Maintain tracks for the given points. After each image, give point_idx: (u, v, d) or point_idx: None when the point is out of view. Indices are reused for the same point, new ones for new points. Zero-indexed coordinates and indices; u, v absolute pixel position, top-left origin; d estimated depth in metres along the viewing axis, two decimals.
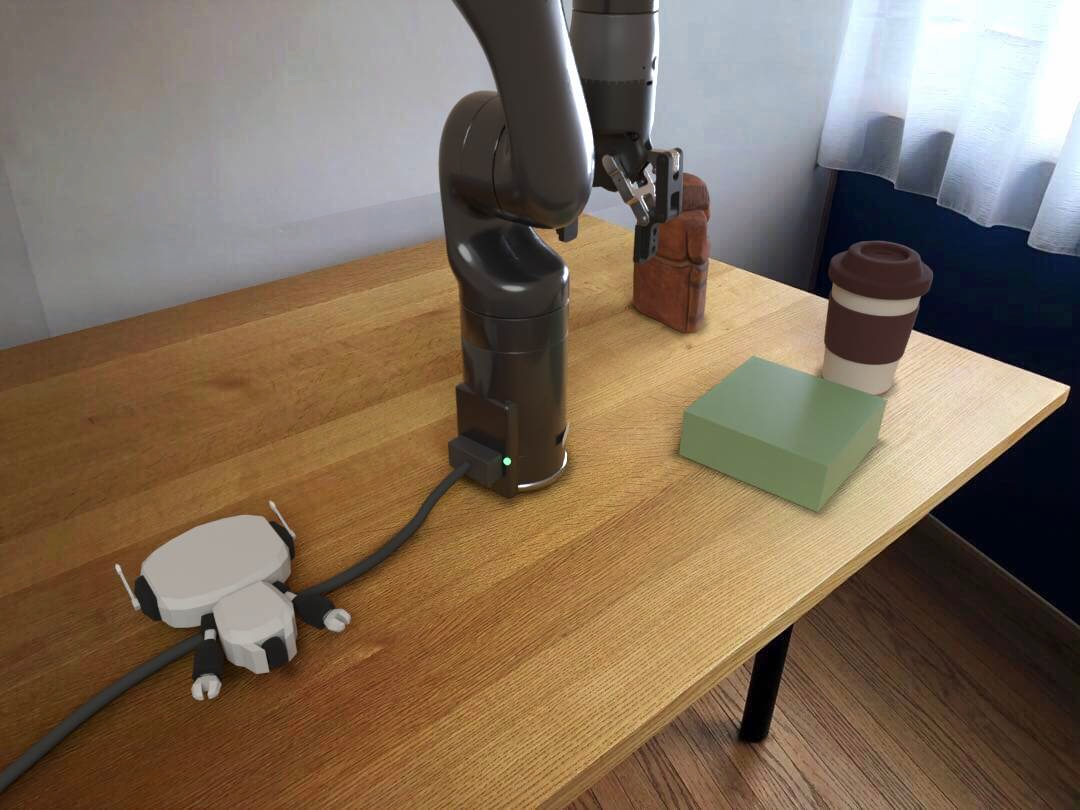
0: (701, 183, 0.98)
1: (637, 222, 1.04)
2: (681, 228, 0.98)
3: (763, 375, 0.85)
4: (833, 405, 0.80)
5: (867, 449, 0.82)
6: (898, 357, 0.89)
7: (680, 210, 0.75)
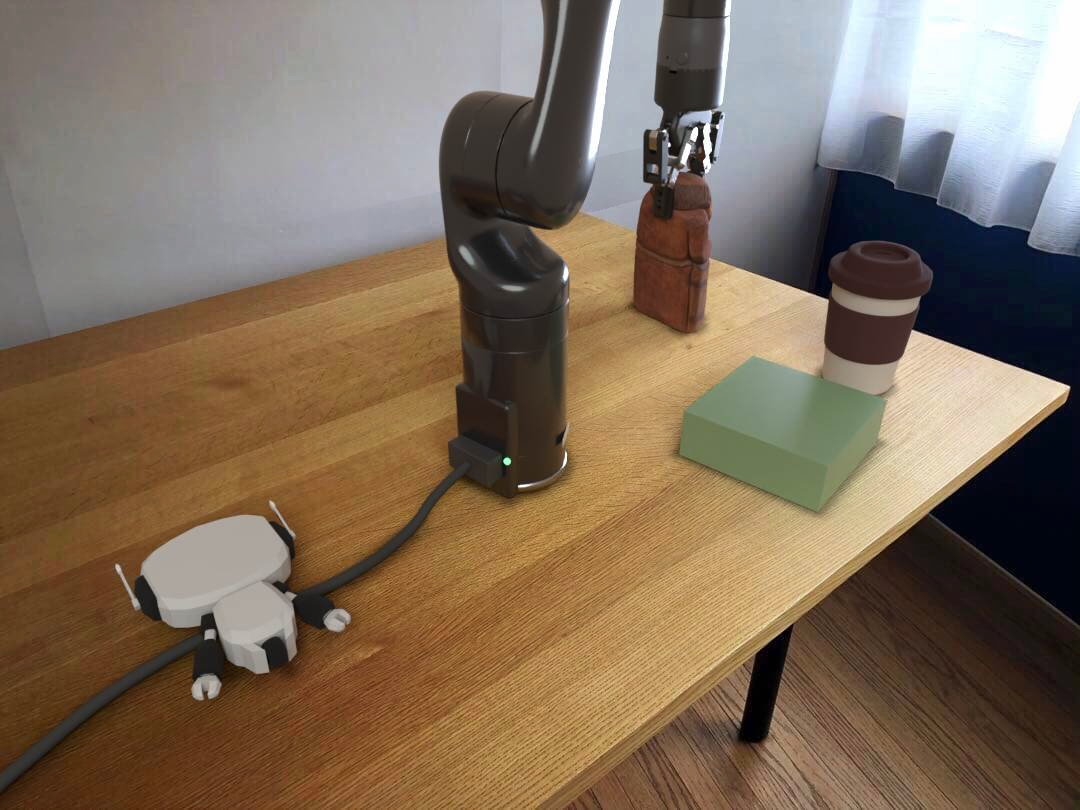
0: (703, 182, 0.98)
1: (638, 221, 1.04)
2: (682, 227, 0.98)
3: (763, 375, 0.85)
4: (833, 405, 0.80)
5: (867, 449, 0.82)
6: (898, 357, 0.89)
7: (660, 182, 0.94)
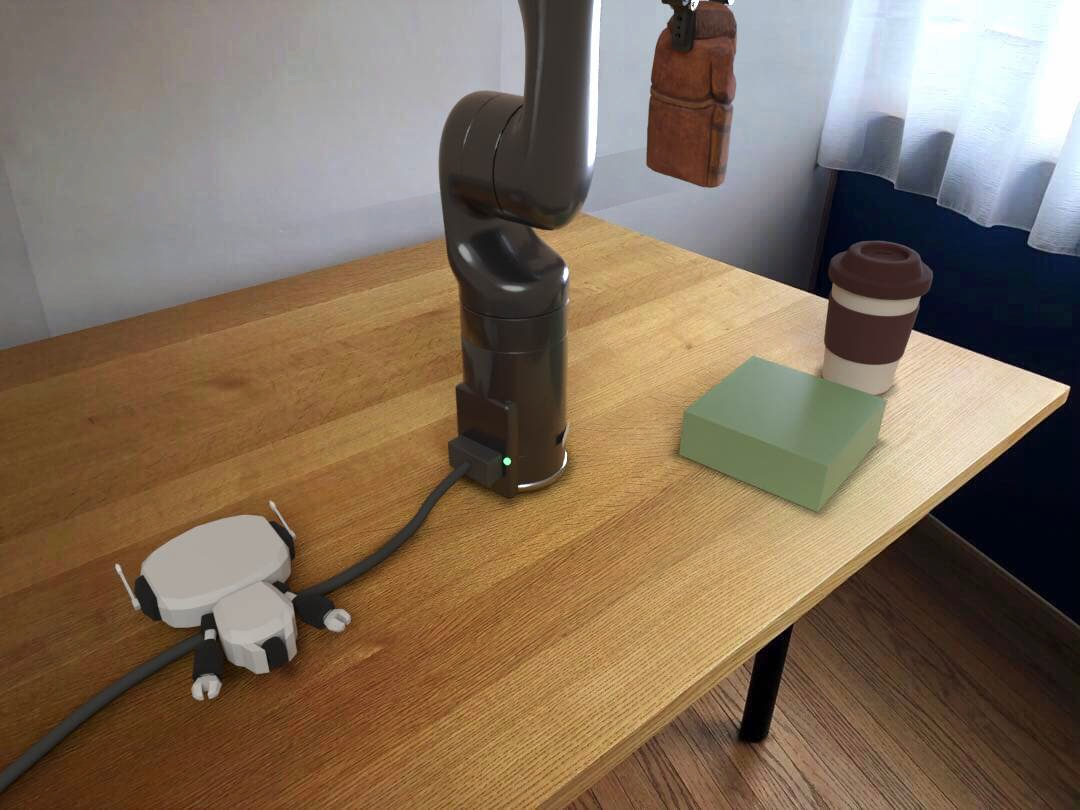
0: (727, 9, 0.87)
1: (653, 63, 0.93)
2: (704, 59, 0.87)
3: (763, 375, 0.85)
4: (833, 405, 0.80)
5: (867, 449, 0.82)
6: (898, 357, 0.89)
7: None
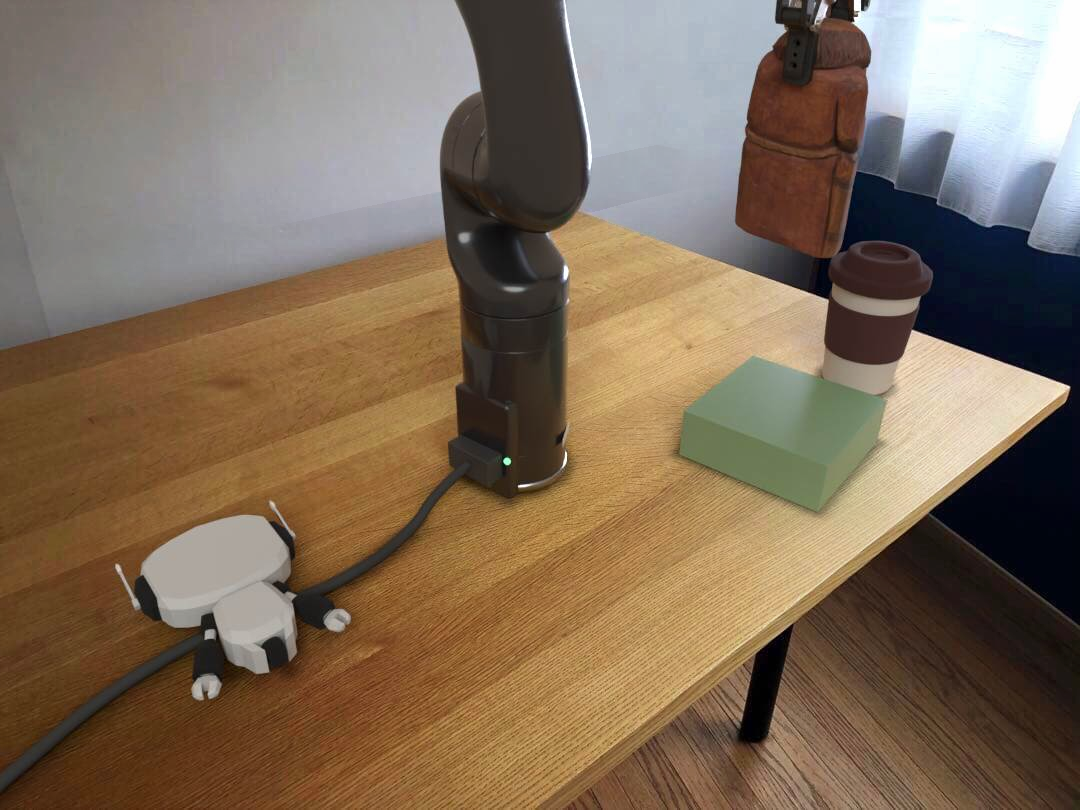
0: (858, 29, 0.66)
1: (752, 98, 0.72)
2: (828, 96, 0.66)
3: (763, 375, 0.85)
4: (833, 405, 0.80)
5: (867, 449, 0.82)
6: (898, 357, 0.89)
7: (803, 18, 0.62)
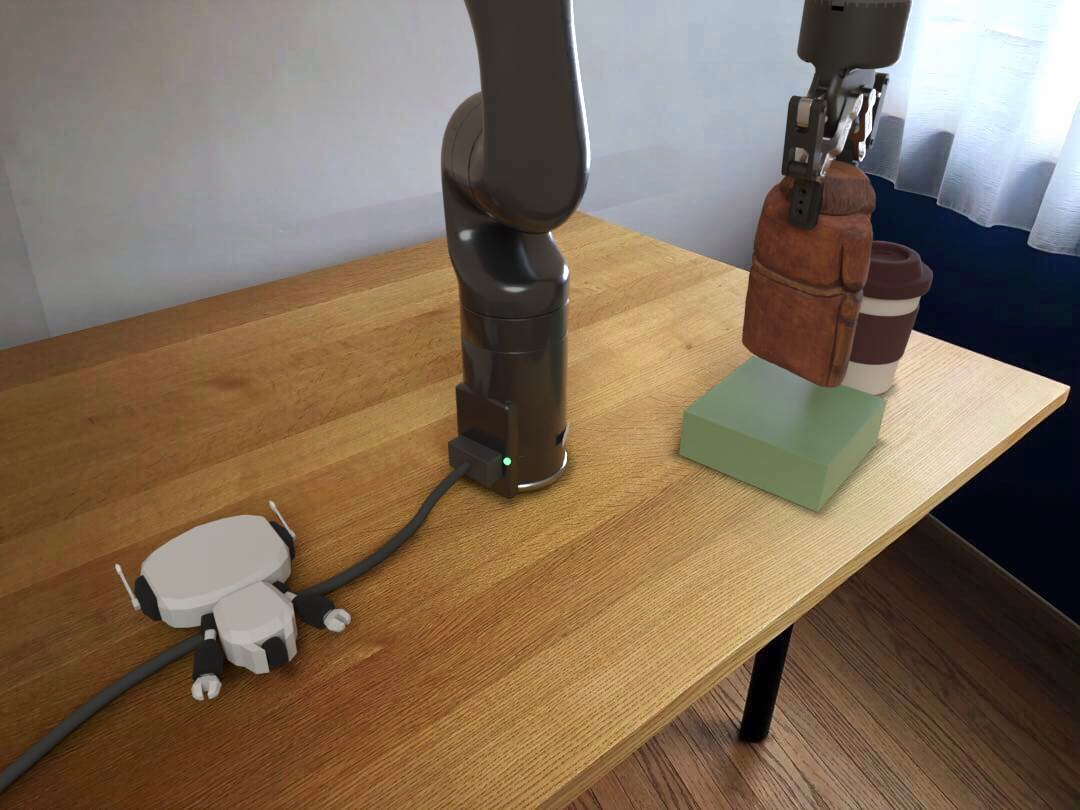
0: (863, 175, 0.68)
1: (759, 231, 0.73)
2: (833, 241, 0.67)
3: (763, 375, 0.85)
4: (833, 405, 0.80)
5: (867, 449, 0.82)
6: (898, 357, 0.89)
7: (809, 174, 0.64)
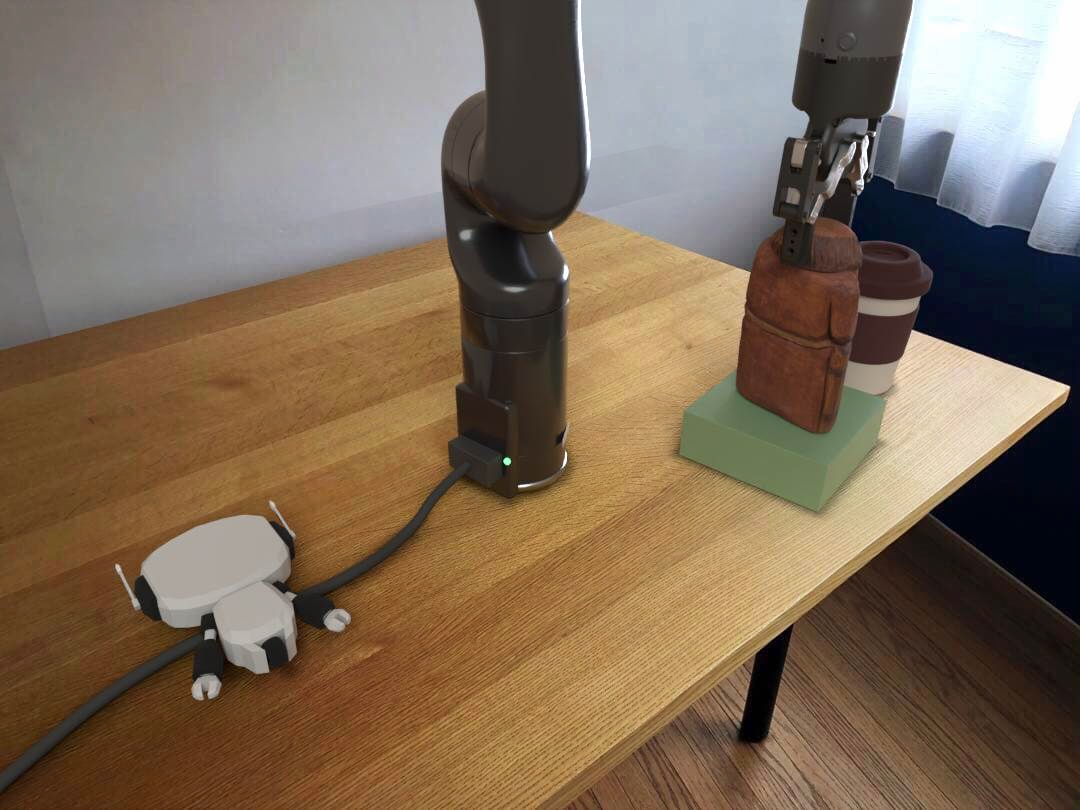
0: (850, 233, 0.70)
1: (751, 283, 0.76)
2: (822, 297, 0.70)
3: None
4: None
5: (867, 449, 0.82)
6: (898, 357, 0.89)
7: (800, 215, 0.65)
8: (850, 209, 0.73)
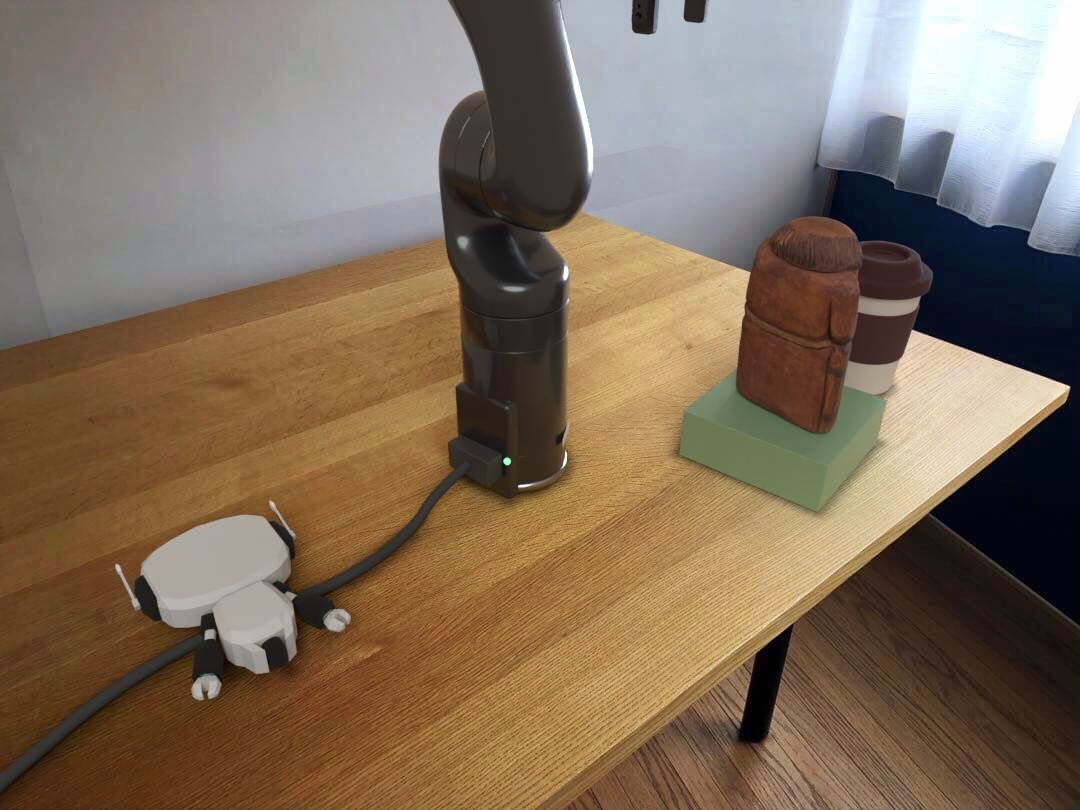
0: (850, 233, 0.70)
1: (751, 283, 0.76)
2: (822, 297, 0.70)
3: None
4: None
5: (867, 449, 0.82)
6: (898, 357, 0.89)
7: None
8: None
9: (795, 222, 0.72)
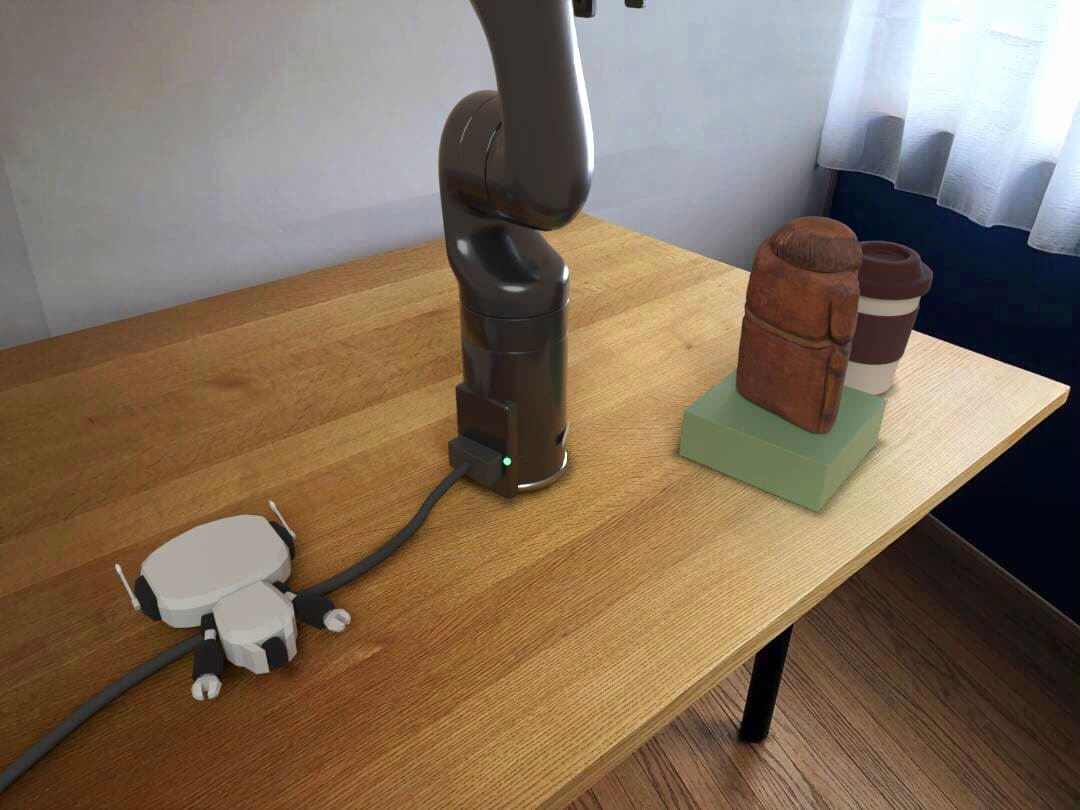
0: (850, 233, 0.70)
1: (751, 283, 0.76)
2: (822, 297, 0.70)
3: None
4: None
5: (867, 449, 0.82)
6: (898, 357, 0.89)
7: None
8: None
9: (795, 222, 0.72)
